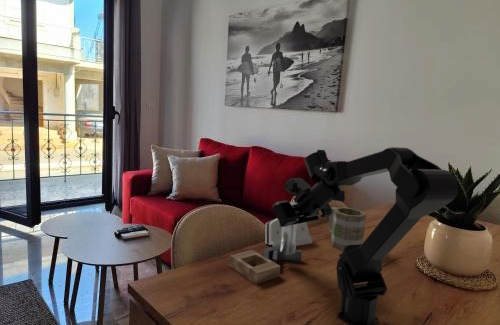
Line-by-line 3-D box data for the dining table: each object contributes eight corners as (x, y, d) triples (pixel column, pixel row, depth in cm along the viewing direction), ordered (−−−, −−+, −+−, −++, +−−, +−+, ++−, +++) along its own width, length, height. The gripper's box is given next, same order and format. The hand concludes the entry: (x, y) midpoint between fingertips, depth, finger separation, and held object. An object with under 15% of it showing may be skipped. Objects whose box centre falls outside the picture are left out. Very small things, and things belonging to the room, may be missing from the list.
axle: (298, 252, 96) (302, 204, 94) (287, 255, 93) (291, 206, 92) (287, 247, 100) (291, 201, 98) (276, 250, 97) (280, 202, 95)
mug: (369, 250, 112) (373, 216, 111) (342, 253, 108) (346, 217, 107) (340, 234, 127) (343, 203, 125) (315, 235, 123) (319, 204, 121)
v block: (302, 261, 100) (303, 251, 100) (273, 270, 93) (274, 260, 92) (285, 252, 106) (286, 243, 105) (256, 260, 98) (257, 250, 98)
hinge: (273, 249, 107) (269, 218, 109) (265, 249, 111) (262, 218, 113) (313, 243, 115) (309, 213, 117) (304, 242, 120) (301, 214, 121)
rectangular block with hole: (279, 276, 89) (280, 265, 89) (256, 284, 84) (257, 273, 84) (251, 259, 99) (252, 249, 98) (228, 265, 94) (229, 255, 93)
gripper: (327, 168, 96) (296, 197, 106) (280, 171, 84) (250, 203, 94) (348, 202, 91) (313, 229, 101) (300, 210, 79) (266, 239, 89)
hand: (286, 224), depth 97 cm, fingers closed on axle, 4 cm apart
